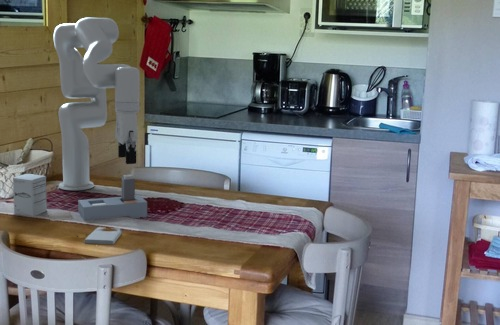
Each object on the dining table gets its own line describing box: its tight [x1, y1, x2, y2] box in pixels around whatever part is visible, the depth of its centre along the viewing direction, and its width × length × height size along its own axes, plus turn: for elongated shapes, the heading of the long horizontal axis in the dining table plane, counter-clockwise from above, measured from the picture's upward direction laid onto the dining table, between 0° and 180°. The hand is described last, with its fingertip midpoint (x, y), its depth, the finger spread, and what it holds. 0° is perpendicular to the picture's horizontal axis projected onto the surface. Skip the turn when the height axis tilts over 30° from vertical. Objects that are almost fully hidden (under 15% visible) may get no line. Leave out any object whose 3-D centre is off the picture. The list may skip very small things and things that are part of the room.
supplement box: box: [12, 173, 48, 217], centre depth 210 cm, size 7×7×13 cm
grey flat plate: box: [46, 211, 75, 222], centre depth 207 cm, size 8×7×1 cm
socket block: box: [77, 194, 148, 221], centre depth 212 cm, size 9×20×5 cm, turn 114°
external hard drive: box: [83, 226, 124, 245], centre depth 192 cm, size 2×8×12 cm
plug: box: [121, 173, 136, 202], centre depth 213 cm, size 3×3×11 cm
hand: (127, 160), depth 211 cm, fingers open, 9 cm apart
